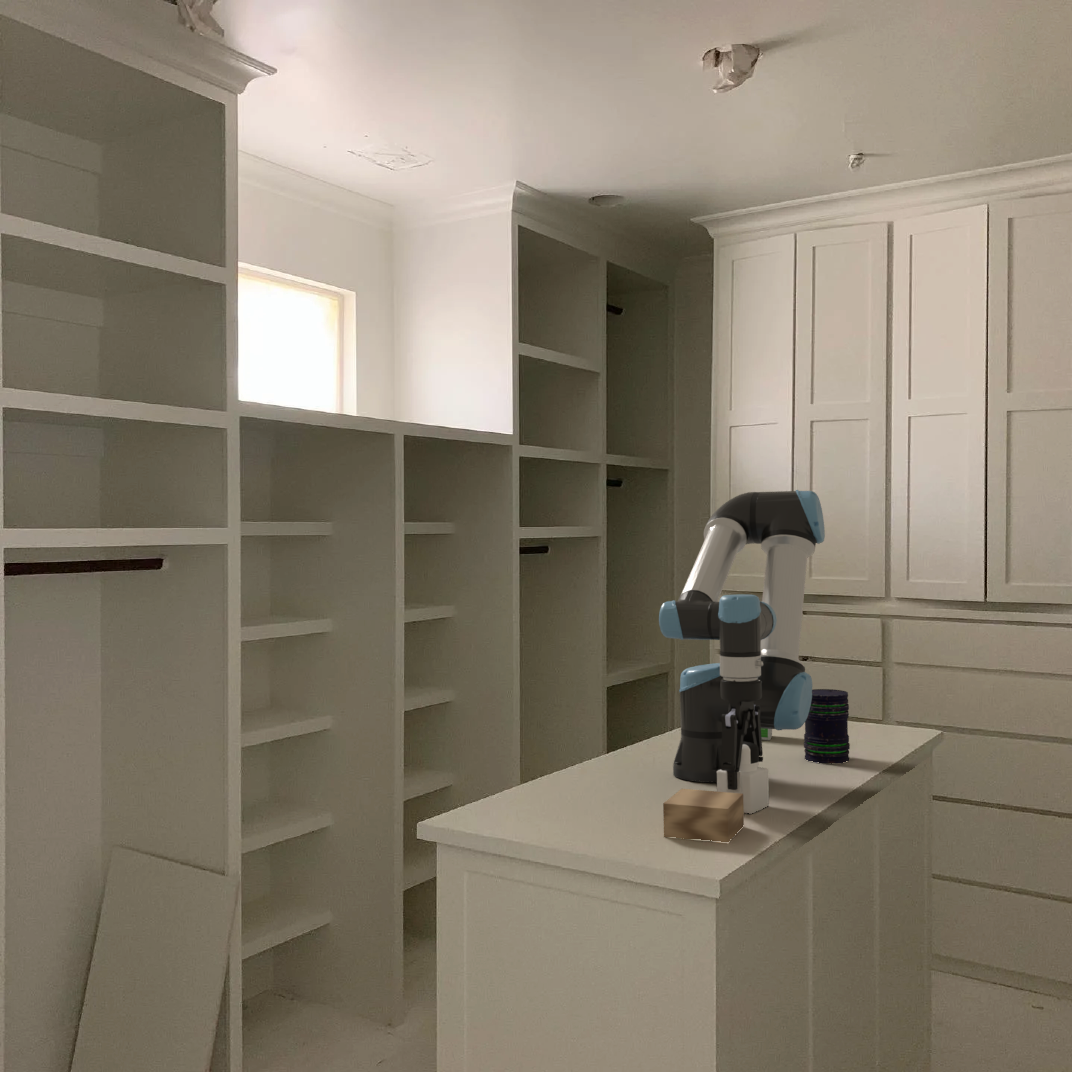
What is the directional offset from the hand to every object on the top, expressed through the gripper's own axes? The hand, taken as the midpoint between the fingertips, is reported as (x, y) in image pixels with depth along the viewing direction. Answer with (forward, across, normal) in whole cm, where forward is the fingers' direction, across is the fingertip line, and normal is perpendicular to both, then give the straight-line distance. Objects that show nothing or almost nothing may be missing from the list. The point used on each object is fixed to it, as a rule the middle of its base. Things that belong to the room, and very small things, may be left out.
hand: (743, 801), depth 198 cm
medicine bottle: (+1, 0, 0) cm, 1 cm away
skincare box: (+1, +65, +22) cm, 69 cm away
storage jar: (+1, +48, -1) cm, 48 cm away
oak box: (+1, -18, 0) cm, 18 cm away
